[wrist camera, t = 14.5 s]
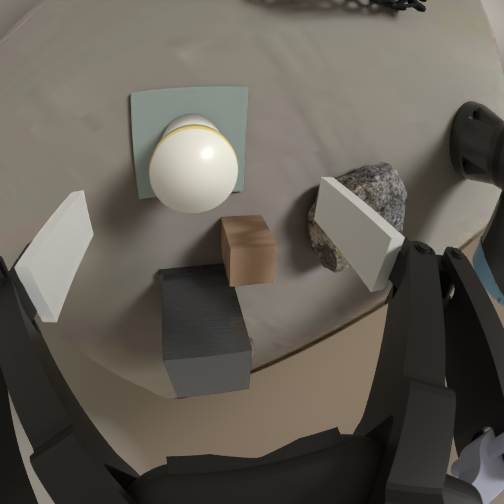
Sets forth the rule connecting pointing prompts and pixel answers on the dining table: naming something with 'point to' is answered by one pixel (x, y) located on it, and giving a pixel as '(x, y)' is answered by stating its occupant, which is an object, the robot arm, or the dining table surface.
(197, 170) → the cartridge
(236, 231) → the walnut block
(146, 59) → the dining table surface
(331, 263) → the rock
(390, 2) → the decorative element
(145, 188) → the mat
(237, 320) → the box
